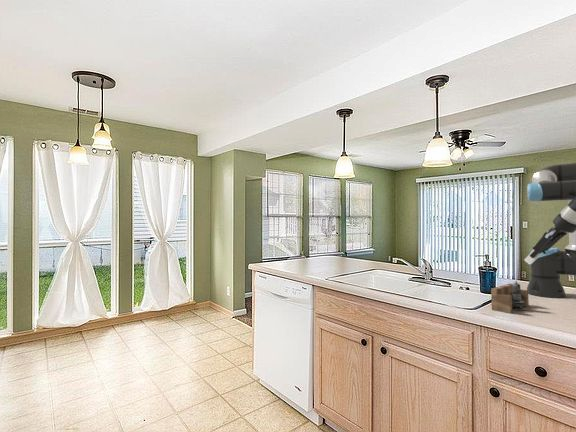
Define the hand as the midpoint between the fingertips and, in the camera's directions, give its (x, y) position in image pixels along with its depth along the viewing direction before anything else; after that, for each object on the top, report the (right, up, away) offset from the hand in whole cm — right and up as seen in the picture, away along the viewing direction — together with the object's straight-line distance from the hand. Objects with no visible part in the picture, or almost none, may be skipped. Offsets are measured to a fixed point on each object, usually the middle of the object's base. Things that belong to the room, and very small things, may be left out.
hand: (527, 262), depth 135 cm
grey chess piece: (-2, -21, +3) cm, 21 cm away
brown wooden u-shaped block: (-4, -21, +5) cm, 22 cm away
